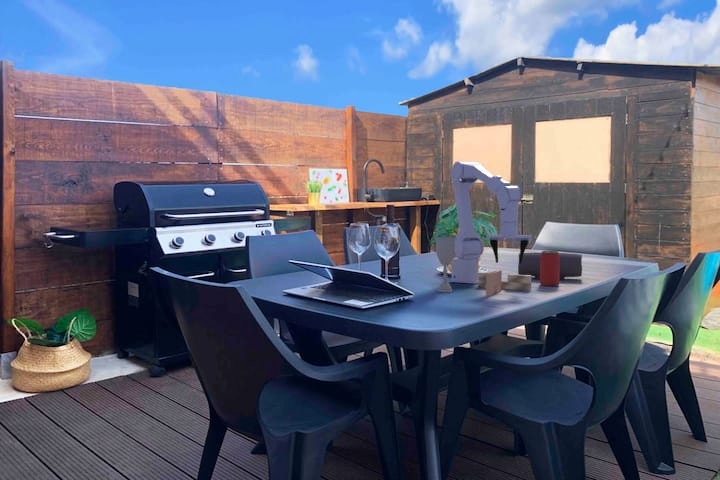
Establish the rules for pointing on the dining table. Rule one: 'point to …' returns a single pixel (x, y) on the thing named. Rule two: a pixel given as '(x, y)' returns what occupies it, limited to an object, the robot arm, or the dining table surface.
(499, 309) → the dining table surface
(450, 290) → the chalice
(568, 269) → the bluetooth speaker
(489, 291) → the tan thin board
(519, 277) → the slotted rail
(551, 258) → the beer can
